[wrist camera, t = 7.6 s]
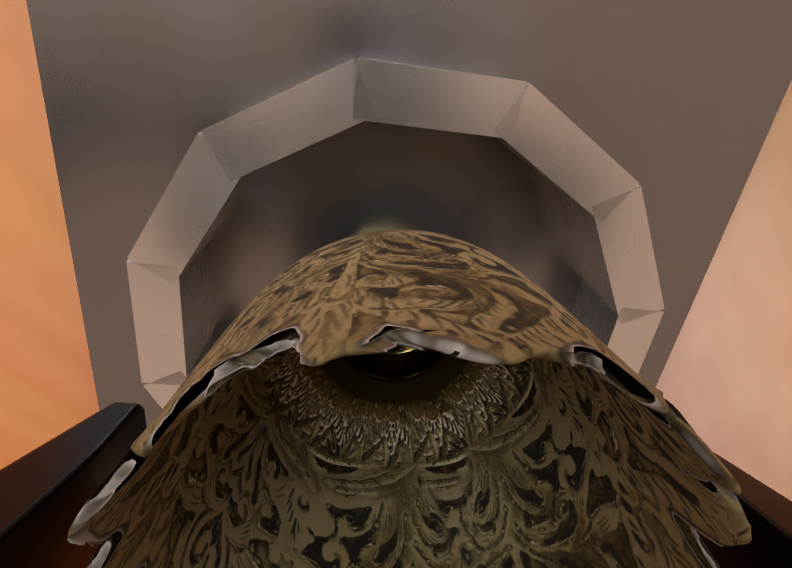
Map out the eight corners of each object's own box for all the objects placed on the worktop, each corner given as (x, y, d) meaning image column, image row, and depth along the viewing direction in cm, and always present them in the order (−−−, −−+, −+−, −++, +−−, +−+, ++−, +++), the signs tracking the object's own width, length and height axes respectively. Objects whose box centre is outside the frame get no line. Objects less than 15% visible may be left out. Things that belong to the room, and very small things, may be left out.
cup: (481, 102, 10) (728, 208, 3) (564, 357, 13) (783, 704, 6) (188, 233, 11) (-127, 540, 4) (327, 443, 14) (283, 828, 7)
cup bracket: (127, 483, 16) (81, 564, 13) (31, -119, 9) (-100, -187, 7) (584, 506, 17) (620, 582, 15) (795, 5, 11) (927, -11, 8)
